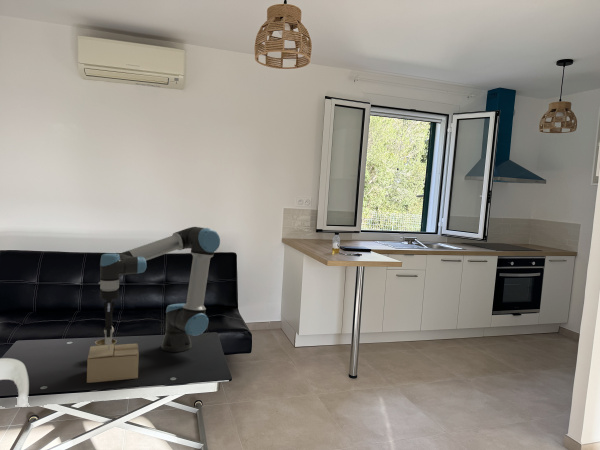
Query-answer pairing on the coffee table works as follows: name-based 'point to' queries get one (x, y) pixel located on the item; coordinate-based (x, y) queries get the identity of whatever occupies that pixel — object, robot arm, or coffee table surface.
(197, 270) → the robot arm
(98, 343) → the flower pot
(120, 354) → the carton
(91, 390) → the coffee table surface
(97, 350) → the flap
